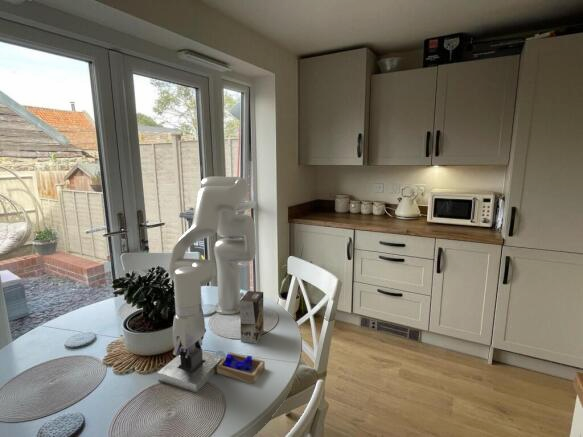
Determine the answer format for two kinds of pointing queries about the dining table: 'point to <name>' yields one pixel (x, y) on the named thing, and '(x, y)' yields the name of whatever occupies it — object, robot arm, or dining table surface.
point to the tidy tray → (241, 374)
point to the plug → (194, 358)
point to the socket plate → (189, 379)
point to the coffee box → (251, 316)
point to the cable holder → (238, 363)
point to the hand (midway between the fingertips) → (191, 361)
